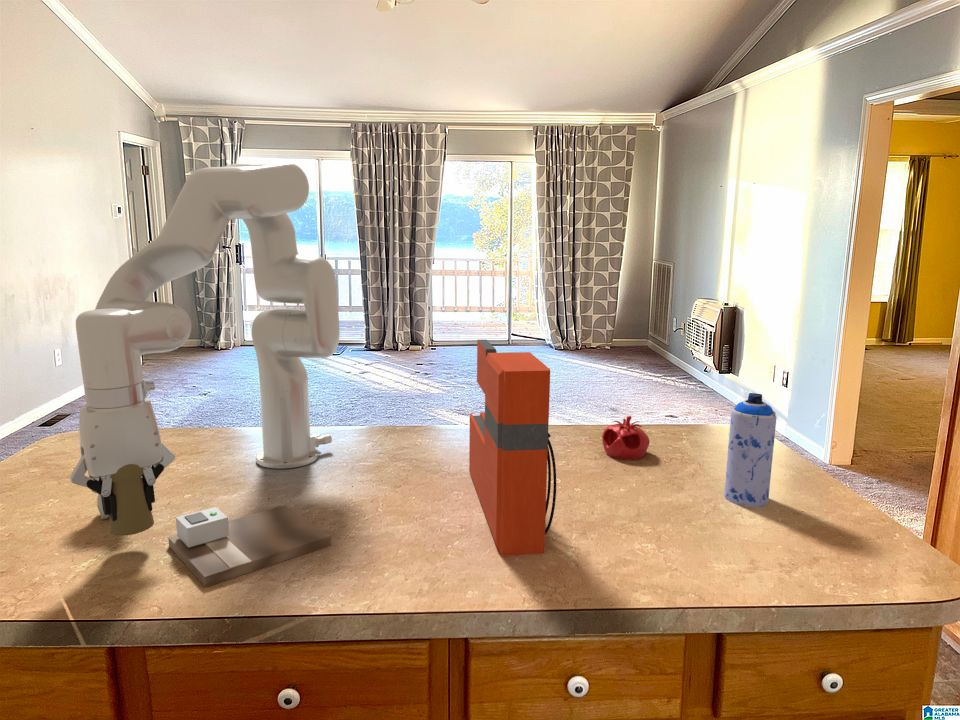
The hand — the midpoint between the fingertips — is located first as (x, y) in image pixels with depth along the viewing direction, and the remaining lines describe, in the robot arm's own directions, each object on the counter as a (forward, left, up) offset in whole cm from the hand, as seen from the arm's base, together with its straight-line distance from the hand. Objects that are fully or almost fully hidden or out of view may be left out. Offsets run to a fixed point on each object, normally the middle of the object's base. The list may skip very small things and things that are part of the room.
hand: (130, 511), depth 100 cm
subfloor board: (-14, +10, -6) cm, 18 cm away
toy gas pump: (-54, +25, -6) cm, 60 cm away
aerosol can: (-89, +51, -6) cm, 103 cm away
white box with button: (-8, +6, -4) cm, 11 cm away
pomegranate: (-92, +22, -6) cm, 95 cm away
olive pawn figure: (0, 0, -3) cm, 3 cm away
